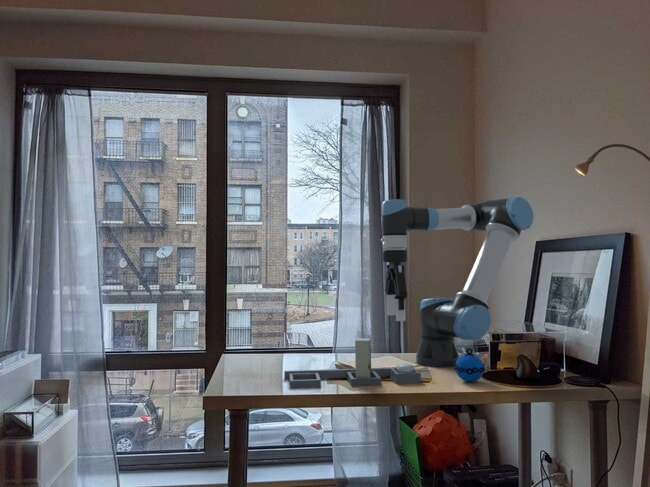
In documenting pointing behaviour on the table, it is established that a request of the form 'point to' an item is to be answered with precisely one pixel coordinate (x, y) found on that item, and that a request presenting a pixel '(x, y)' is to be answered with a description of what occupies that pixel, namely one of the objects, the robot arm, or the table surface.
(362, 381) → the panel
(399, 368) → the release button
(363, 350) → the box
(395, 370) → the button collar
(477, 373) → the ornament
